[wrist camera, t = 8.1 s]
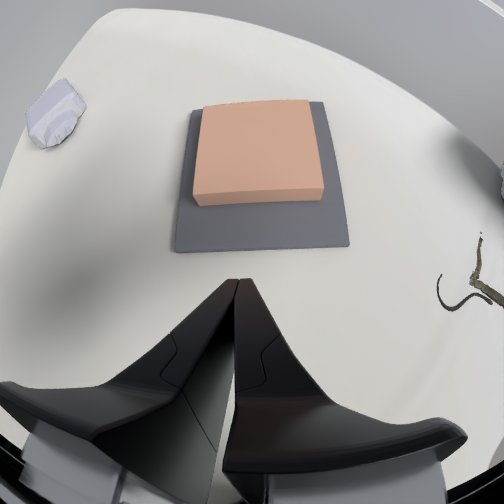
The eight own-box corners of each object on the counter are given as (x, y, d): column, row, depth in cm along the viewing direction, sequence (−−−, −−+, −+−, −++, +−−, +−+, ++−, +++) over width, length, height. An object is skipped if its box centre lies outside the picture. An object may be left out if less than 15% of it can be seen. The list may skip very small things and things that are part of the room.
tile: (324, 188, 20) (308, 99, 23) (192, 194, 21) (203, 106, 24) (320, 202, 22) (307, 115, 25) (200, 207, 23) (208, 122, 26)
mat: (347, 246, 21) (349, 244, 21) (176, 253, 23) (174, 251, 22) (322, 105, 26) (322, 101, 25) (194, 114, 27) (192, 110, 27)
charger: (50, 171, 28) (37, 128, 32) (99, 125, 29) (76, 92, 34) (30, 154, 24) (23, 113, 28) (82, 102, 25) (63, 75, 29)
